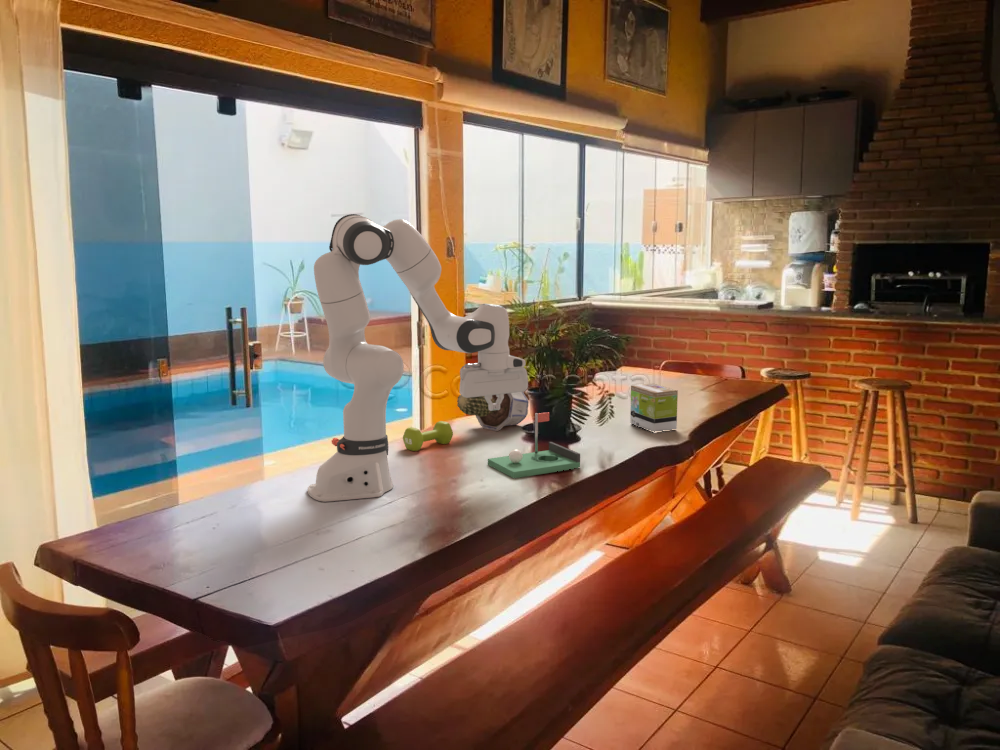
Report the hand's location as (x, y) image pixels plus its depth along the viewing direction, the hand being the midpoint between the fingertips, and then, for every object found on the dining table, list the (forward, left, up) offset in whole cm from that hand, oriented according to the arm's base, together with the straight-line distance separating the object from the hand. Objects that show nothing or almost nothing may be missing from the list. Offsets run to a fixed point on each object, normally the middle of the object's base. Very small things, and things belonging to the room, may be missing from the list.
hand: (494, 409), depth 228 cm
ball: (+7, 0, -14) cm, 16 cm away
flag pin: (+20, +7, -18) cm, 28 cm away
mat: (+13, 0, -18) cm, 22 cm away
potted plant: (+23, +48, -18) cm, 56 cm away
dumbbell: (-5, +37, -19) cm, 42 cm away
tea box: (+75, +23, -19) cm, 80 cm away
